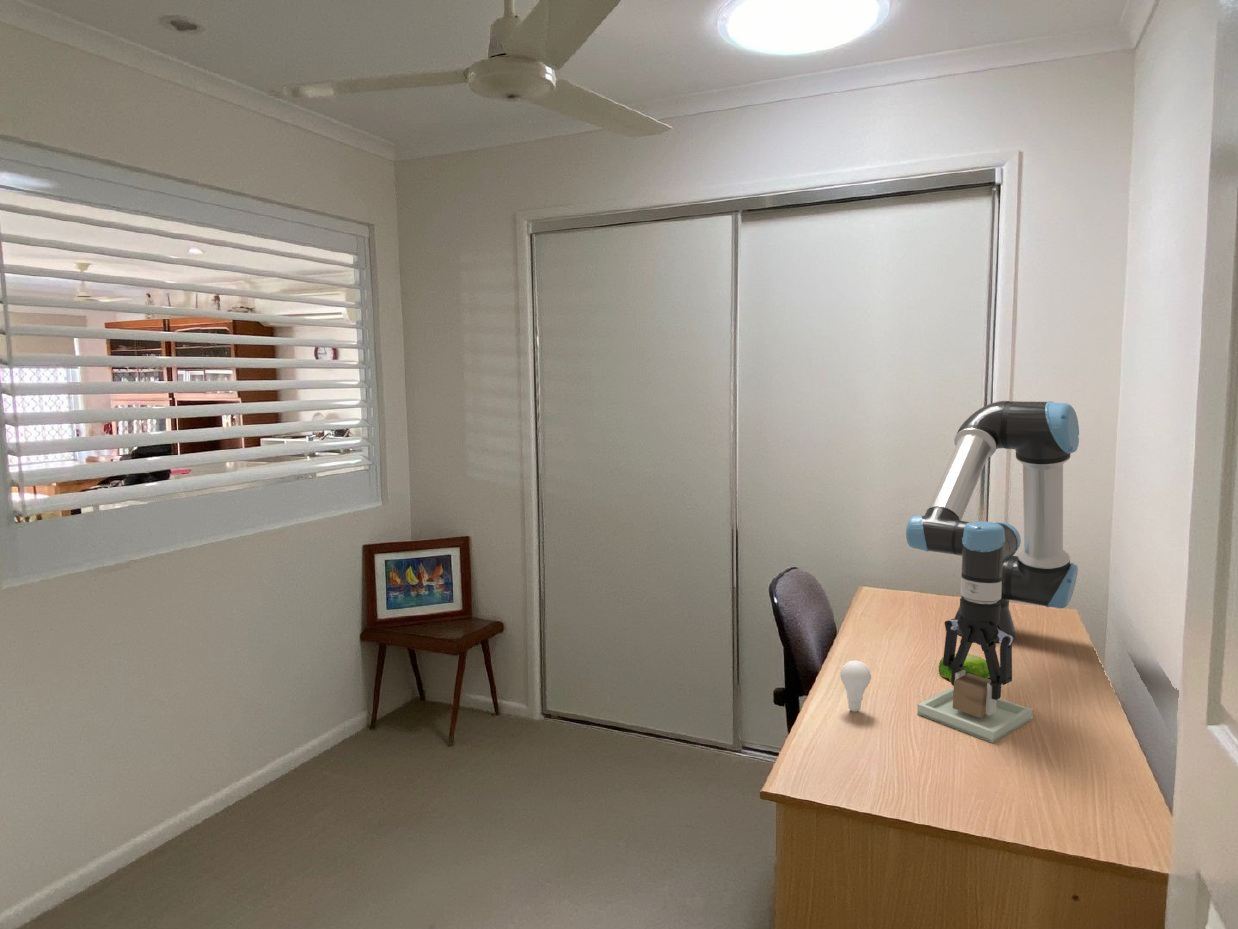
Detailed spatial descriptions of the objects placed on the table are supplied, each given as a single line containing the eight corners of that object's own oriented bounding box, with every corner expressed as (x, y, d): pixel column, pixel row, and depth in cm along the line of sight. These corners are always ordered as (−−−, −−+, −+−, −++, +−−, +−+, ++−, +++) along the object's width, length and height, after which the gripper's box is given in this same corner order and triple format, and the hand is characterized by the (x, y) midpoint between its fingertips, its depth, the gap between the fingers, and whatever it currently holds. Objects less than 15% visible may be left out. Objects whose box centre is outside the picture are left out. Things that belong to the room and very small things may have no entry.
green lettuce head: (996, 688, 176) (997, 666, 175) (944, 684, 178) (945, 663, 177) (981, 668, 187) (982, 648, 186) (933, 666, 189) (934, 646, 188)
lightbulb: (869, 707, 166) (871, 657, 165) (869, 719, 160) (871, 668, 159) (840, 703, 168) (841, 654, 167) (838, 715, 162) (839, 665, 161)
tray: (957, 693, 172) (958, 684, 172) (1032, 719, 160) (1032, 709, 159) (917, 714, 162) (917, 704, 162) (993, 743, 150) (993, 732, 150)
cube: (967, 700, 165) (969, 673, 164) (995, 710, 160) (997, 682, 159) (952, 708, 161) (954, 680, 160) (980, 718, 157) (982, 690, 156)
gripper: (926, 591, 163) (922, 696, 166) (1019, 614, 148) (1012, 729, 151) (946, 585, 167) (941, 687, 170) (1037, 606, 153) (1030, 718, 156)
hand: (974, 707), depth 161 cm, fingers closed on cube, 6 cm apart
